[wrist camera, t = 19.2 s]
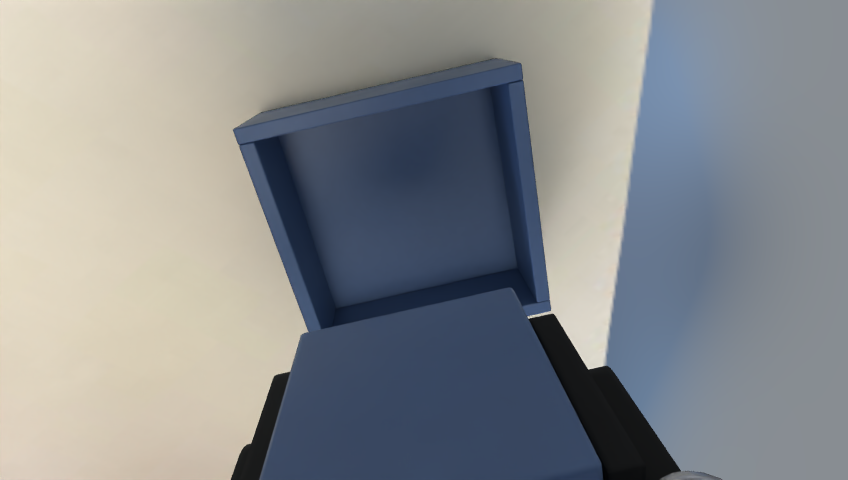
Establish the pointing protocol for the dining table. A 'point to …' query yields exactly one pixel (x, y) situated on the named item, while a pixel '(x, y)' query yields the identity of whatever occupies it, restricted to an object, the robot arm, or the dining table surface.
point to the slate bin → (402, 194)
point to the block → (429, 400)
